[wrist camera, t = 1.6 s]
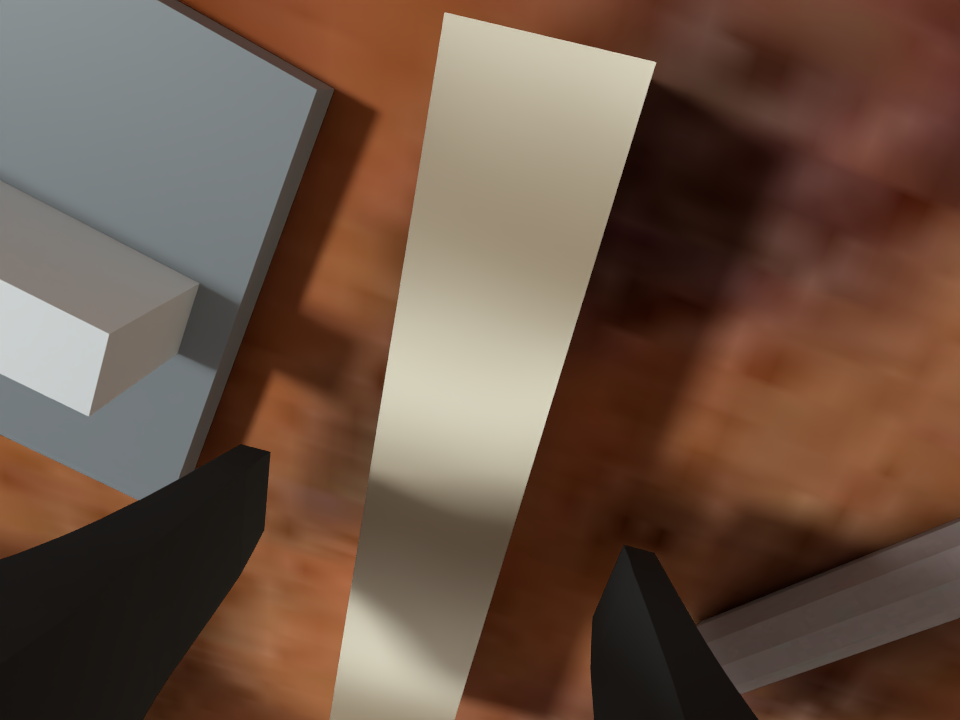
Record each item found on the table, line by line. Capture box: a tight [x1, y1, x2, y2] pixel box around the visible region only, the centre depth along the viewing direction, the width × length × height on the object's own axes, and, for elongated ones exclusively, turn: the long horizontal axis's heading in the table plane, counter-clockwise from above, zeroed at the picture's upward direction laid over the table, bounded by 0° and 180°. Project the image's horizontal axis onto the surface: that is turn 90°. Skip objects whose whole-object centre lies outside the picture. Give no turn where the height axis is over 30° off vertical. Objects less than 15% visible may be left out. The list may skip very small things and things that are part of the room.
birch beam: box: [330, 13, 656, 720], centre depth 14 cm, size 18×3×4 cm, turn 168°
